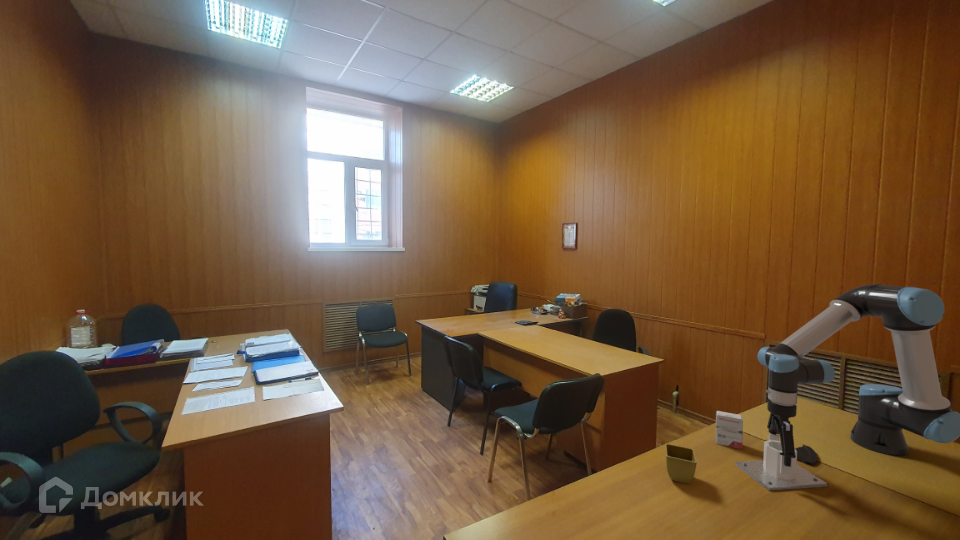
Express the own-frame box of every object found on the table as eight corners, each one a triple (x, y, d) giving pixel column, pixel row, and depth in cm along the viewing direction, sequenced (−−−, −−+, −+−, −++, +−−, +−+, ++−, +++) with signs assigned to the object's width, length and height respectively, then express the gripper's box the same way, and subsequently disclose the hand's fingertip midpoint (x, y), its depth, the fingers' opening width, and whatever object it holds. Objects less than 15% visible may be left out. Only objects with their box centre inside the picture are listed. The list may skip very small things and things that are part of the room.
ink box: (741, 443, 144) (742, 414, 143) (742, 449, 140) (743, 419, 139) (715, 438, 149) (716, 409, 148) (715, 443, 144) (716, 414, 144)
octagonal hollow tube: (761, 462, 130) (762, 438, 129) (790, 468, 126) (791, 443, 126) (767, 475, 122) (768, 449, 122) (798, 482, 119) (799, 455, 118)
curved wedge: (825, 455, 136) (825, 451, 136) (812, 468, 129) (812, 463, 129) (797, 445, 143) (797, 441, 143) (783, 456, 136) (783, 452, 136)
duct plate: (787, 461, 132) (787, 442, 132) (826, 486, 118) (828, 465, 118) (735, 464, 131) (735, 445, 130) (769, 490, 117) (770, 469, 116)
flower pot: (693, 474, 126) (694, 448, 125) (696, 489, 118) (697, 462, 117) (664, 467, 129) (665, 443, 129) (665, 482, 121) (666, 456, 121)
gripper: (758, 386, 136) (756, 442, 137) (779, 415, 113) (776, 481, 114) (784, 389, 132) (781, 446, 134) (810, 420, 110) (807, 488, 111)
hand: (779, 462), depth 124 cm, fingers open, 13 cm apart
